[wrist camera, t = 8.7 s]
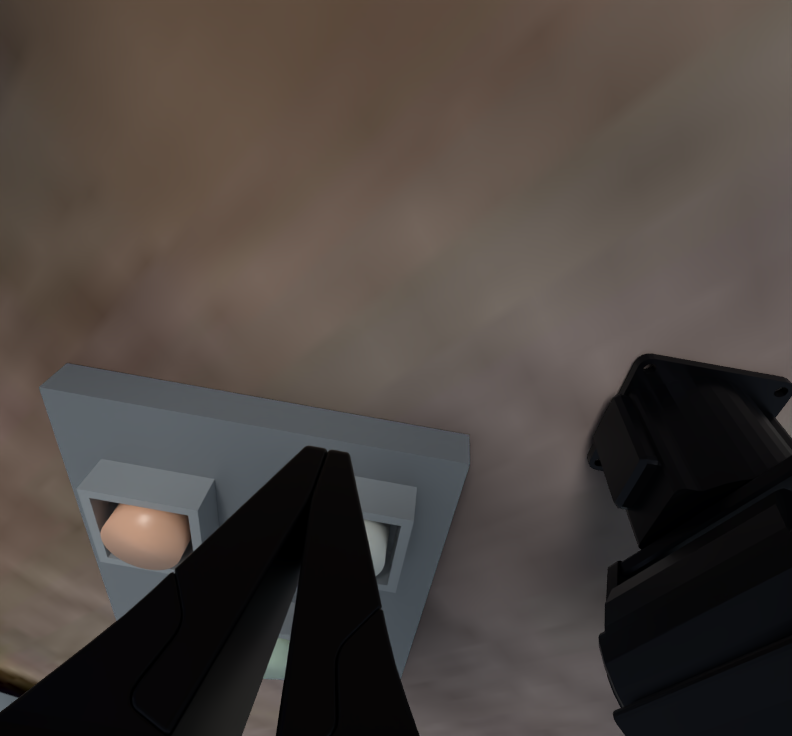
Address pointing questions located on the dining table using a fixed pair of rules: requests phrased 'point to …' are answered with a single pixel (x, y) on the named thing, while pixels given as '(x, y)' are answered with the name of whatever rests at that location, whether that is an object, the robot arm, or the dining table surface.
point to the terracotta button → (146, 536)
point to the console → (248, 473)
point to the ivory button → (377, 542)
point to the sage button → (278, 660)
